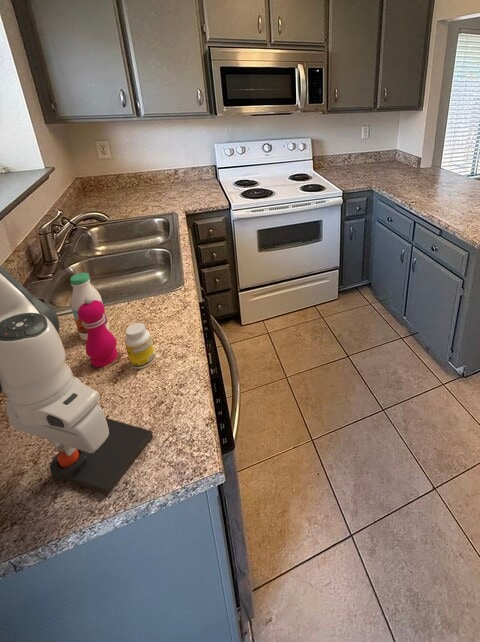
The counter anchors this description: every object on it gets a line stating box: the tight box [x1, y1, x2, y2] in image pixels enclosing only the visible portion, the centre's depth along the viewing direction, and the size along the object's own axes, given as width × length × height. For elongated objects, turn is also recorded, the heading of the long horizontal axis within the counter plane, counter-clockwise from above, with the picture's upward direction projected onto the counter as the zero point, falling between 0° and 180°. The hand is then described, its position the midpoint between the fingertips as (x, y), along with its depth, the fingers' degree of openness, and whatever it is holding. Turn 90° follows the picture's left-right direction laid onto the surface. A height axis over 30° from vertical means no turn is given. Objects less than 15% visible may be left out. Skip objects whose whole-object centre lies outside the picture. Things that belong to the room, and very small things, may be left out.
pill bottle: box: [124, 322, 156, 370], centre depth 96 cm, size 6×6×11 cm
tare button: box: [57, 449, 79, 467], centre depth 69 cm, size 3×3×2 cm
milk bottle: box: [69, 272, 110, 342], centre depth 106 cm, size 8×8×20 cm
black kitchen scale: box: [49, 417, 154, 497], centre depth 72 cm, size 14×13×4 cm
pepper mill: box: [78, 297, 119, 368], centre depth 96 cm, size 7×7×20 cm
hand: (67, 450), depth 69 cm, fingers closed
